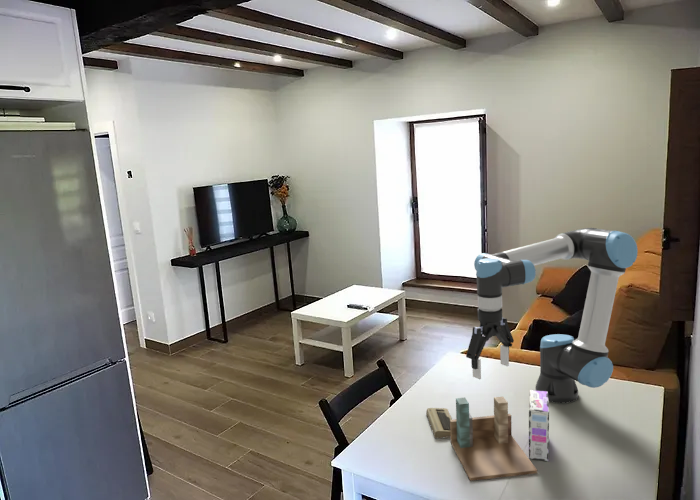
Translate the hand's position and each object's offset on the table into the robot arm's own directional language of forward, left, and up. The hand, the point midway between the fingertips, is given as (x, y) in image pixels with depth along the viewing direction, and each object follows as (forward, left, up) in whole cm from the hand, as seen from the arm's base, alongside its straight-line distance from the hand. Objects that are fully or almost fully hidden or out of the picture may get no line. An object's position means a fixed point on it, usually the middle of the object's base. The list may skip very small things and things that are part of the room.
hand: (491, 371), depth 161 cm
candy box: (-12, +8, -24) cm, 28 cm away
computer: (+14, -11, -24) cm, 30 cm away
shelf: (+4, +10, -23) cm, 26 cm away
